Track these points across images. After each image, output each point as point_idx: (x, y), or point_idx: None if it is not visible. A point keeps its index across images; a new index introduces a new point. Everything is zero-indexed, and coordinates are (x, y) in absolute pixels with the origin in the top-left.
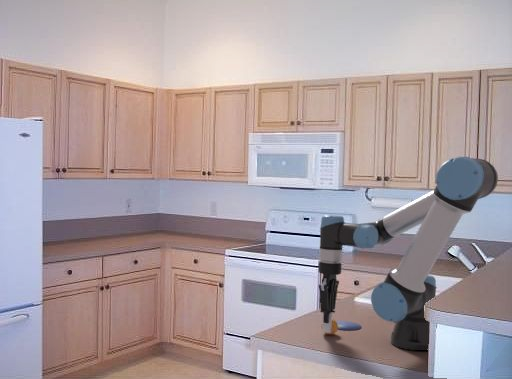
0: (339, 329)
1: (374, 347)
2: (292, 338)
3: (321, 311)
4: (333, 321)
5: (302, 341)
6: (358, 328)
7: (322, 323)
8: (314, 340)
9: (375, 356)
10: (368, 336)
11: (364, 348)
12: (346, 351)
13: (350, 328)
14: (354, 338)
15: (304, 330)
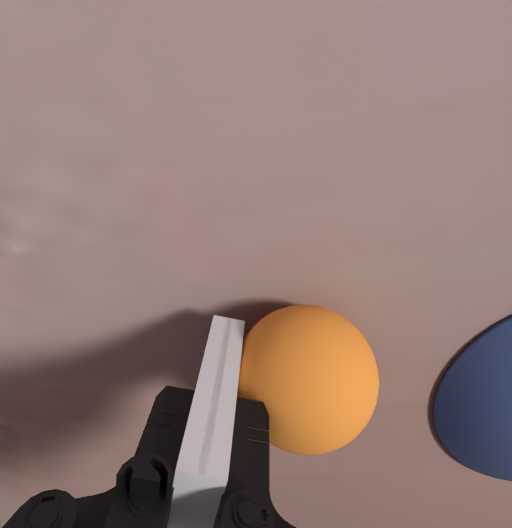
0: (443, 380)
1: None
2: (32, 70)
3: (41, 499)
4: (272, 444)
5: (9, 179)
6: (486, 470)
7: (281, 340)
8: (91, 260)
9: None
10: (331, 504)
11: None
12: (3, 434)
13: (476, 436)
14: None
15: (349, 126)
